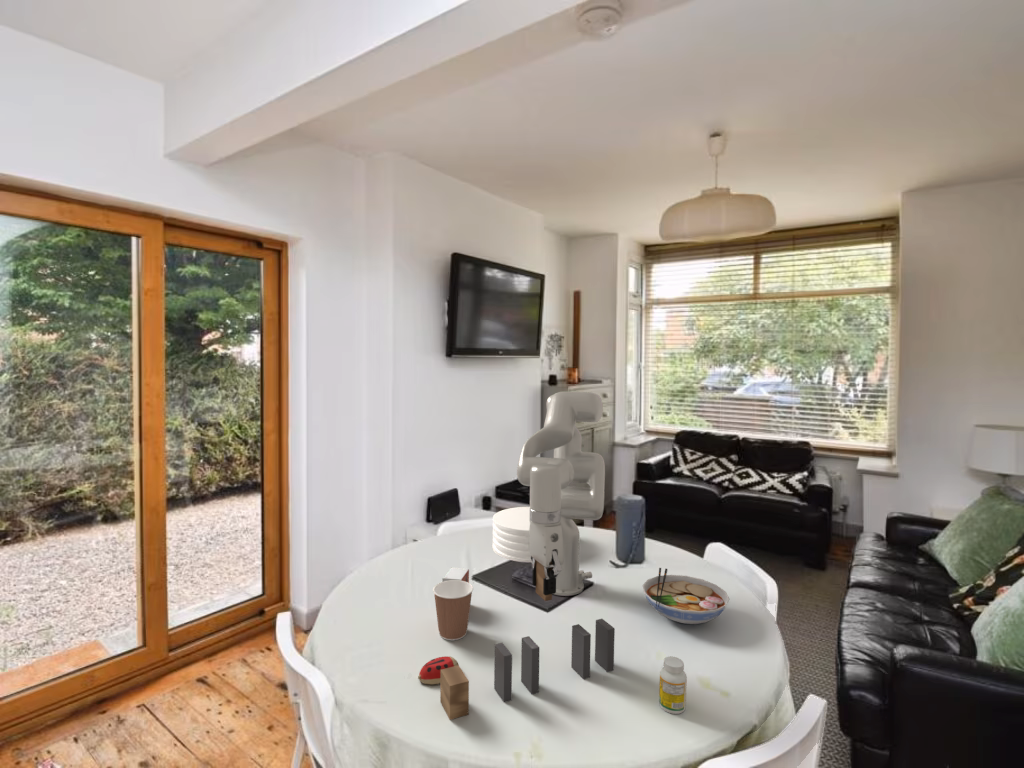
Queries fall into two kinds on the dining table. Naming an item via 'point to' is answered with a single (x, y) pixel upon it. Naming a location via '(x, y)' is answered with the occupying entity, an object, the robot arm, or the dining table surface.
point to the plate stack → (512, 534)
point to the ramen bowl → (685, 598)
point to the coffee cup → (453, 608)
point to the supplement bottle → (673, 686)
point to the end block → (454, 692)
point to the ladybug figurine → (435, 669)
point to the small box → (457, 575)
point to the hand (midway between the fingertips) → (543, 588)
